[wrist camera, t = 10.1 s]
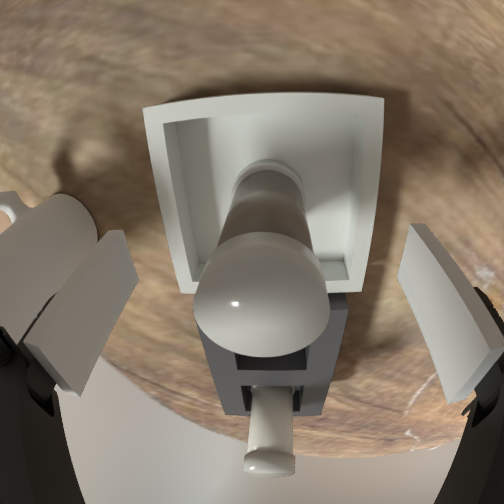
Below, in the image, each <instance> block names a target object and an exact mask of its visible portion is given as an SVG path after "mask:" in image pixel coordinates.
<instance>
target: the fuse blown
mask: <svg viewBox="0 0 504 504" xmlns="http://www.w3.org/2000/svg"><path fill="white" fill-rule="evenodd" d="M305 208H306V196H305V191H304V187H303V184H302V181H301V179H300V177H299V175H298V174H297V172H296V171H295V170H294V169H293V168H291V167H290V166H289V165H287V164H285V163H283V162H281V161H277V160H272V159H265V160H259V161H256V162H253V163H251V164H249V165H248V166H246V167H245V168H244V169H243V170H242V171H241V172H240V173H239V175H238V176H237V178H236V180H235V183H234V185H233V188H232V191H231V195H230V208H229V211H228V214H227V217H226V220H225V223H224V226H223V229H222V232H221V236H220V239H219V242H218V245H217V248H216V249H215V250H214V251H213V252H212V253H211V255H210V256H209V258H208V260H207V261H206V264H205V266H204V269H203V272H202V275H201V278H200V281H199V284H198V287H197V290H196V293H195V296H194V301H193V311H194V316H195V319H196V322H197V323H198V325H199V327H200V328H201V330H202V331H203V332H204V333H205V334H206V335H207V336H208V337H209V338H210V339H211V340H212V341H213V342H215V343H216V344H218V345H219V346H221V347H223V348H225V349H227V350H230V351H232V352H235V353H238V354H242V355H247V356H253V357H275V356H282V355H286V354H290V353H293V352H296V351H298V350H301V349H302V348H304V347H306V346H308V345H309V344H311V343H312V342H313V341H315V340H316V339H317V338H318V337H319V336H320V335H321V333H322V332H323V331H324V329H325V328H326V325H327V323H328V320H329V316H330V303H329V298H328V293H327V288H326V283H325V278H324V273H323V269H322V266H321V264H320V262H319V260H318V259H317V257H316V256H315V255H314V252H313V247H312V242H311V237H310V232H309V227H308V222H307V217H306V213H305Z"/></svg>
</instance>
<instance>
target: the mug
mask: <svg viewBox="0 0 504 504" xmlns="http://www.w3.org/2000/svg"><path fill="white" fill-rule="evenodd" d="M0 210H2V211H4V212H6V213H7V214H8V216H9V217H10V219H11V221H12V225H11V226H10V227H9V228H7V229H6V230H5V231H4V232H3V233H1V234H0V326H2V327H4V328H5V329H6V331H7V332H8V334H9V335H10V336H11V338H12V339H13V341H14V342H15V343H16V345H17V344H18V343H19V341H20V340H21V338H22V336H23V335H24V333H25V332H26V330H27V329H28V327H29V326H30V325H31V323H32V322H33V320H34V319H35V318H37V314H38V313H39V312H40V310H42V307H43V306H44V305H45V303H46V302H47V301H48V299H49V298H50V297H52V296H53V295H54V294H55V293H56V292H58V291H59V289H60V288H61V287H62V285H63V284H64V283H65V282H66V280H67V279H68V278H69V277H70V275H71V274H72V273H73V272H74V270H75V269H76V268H77V267H78V265H79V264H80V263H81V262H82V261H83V259H84V258H85V257H86V256H87V255H88V253H89V252H90V251H91V250H92V249H93V248H94V246H95V245H96V244H97V241H98V236H97V229H96V225H95V223H94V220H93V218H92V216H91V215H90V213H89V211H88V210H87V209H86V208H85V206H84V205H83V204H82V203H81V202H79V201H78V200H77V199H75V198H74V197H72V196H69V195H66V194H55V195H52V196H51V197H49V198H47V199H46V200H45V201H43V202H42V203H40V204H39V205H37V206H36V207H34V208H30V207H28V206H27V205H25V204H24V203H23V202H22V200H21V199H20V197H19V195H18V194H17V192H16V191H6V192H1V193H0Z"/></svg>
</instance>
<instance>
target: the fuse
mask: <svg viewBox="0 0 504 504" xmlns="http://www.w3.org/2000/svg"><path fill="white" fill-rule="evenodd" d="M294 392H295V386H251V393H252V406H251V418H250V429H249V441H248V452H247V454H246V455H245V458H244V468H243V472H244V473H245V474H247V475H251V476H256V477H267V478H273V477H274V478H275V477H286V476H291V475H293V474H295V456H294V455H293V394H294Z"/></svg>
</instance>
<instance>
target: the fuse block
mask: <svg viewBox="0 0 504 504" xmlns="http://www.w3.org/2000/svg"><path fill="white" fill-rule="evenodd" d="M328 298H329V303H330V316H329V320H328V323H327V325H326V328H325V329H324V331H323V332H322V333H321V335H320V336H319V337H318V338H317V339H316V340H315V341H313V342H312V343H311V344H309V345H308V346H306V347H304V348H302V349H301V350H298V351H296V352H293V353H290V354H286V355H282V356H275V357H253V356H247V355H242V354H238V353H235V352H232V351H230V350H227V349H225V348H223V347H221V346H219V345H218V344H216V343H215V342H213V341H212V340H211V339H210V338H209V337H208V336H207V335H206V334H205V333H204V332H203V331H202V330H201V328H200V327H199V325H198V323H197V322H196V323H197V327H198V330H199V334H200V337H201V341H202V344H203V348H204V351H205V354H206V357H207V361H208V364H209V367H210V370H211V373H212V377H213V380H214V383H215V386H216V389H217V392H218V395H219V398H220V401H221V404H222V407H223V410H224V412H225V415H238V416H251V406H252V393H251V386H295V392H294V394H293V416H316V415H321V412H322V409H323V406H324V402H325V399H326V396H327V393H328V389H329V386H330V383H331V379H332V376H333V372H334V368H335V365H336V361H337V357H338V353H339V349H340V345H341V341H342V337H343V333H344V329H345V325H346V320H347V316H348V311H349V308H348V304H347V300H346V296H345V292H338V293H328ZM193 312H194V311H193ZM195 320H196V319H195Z"/></svg>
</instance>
